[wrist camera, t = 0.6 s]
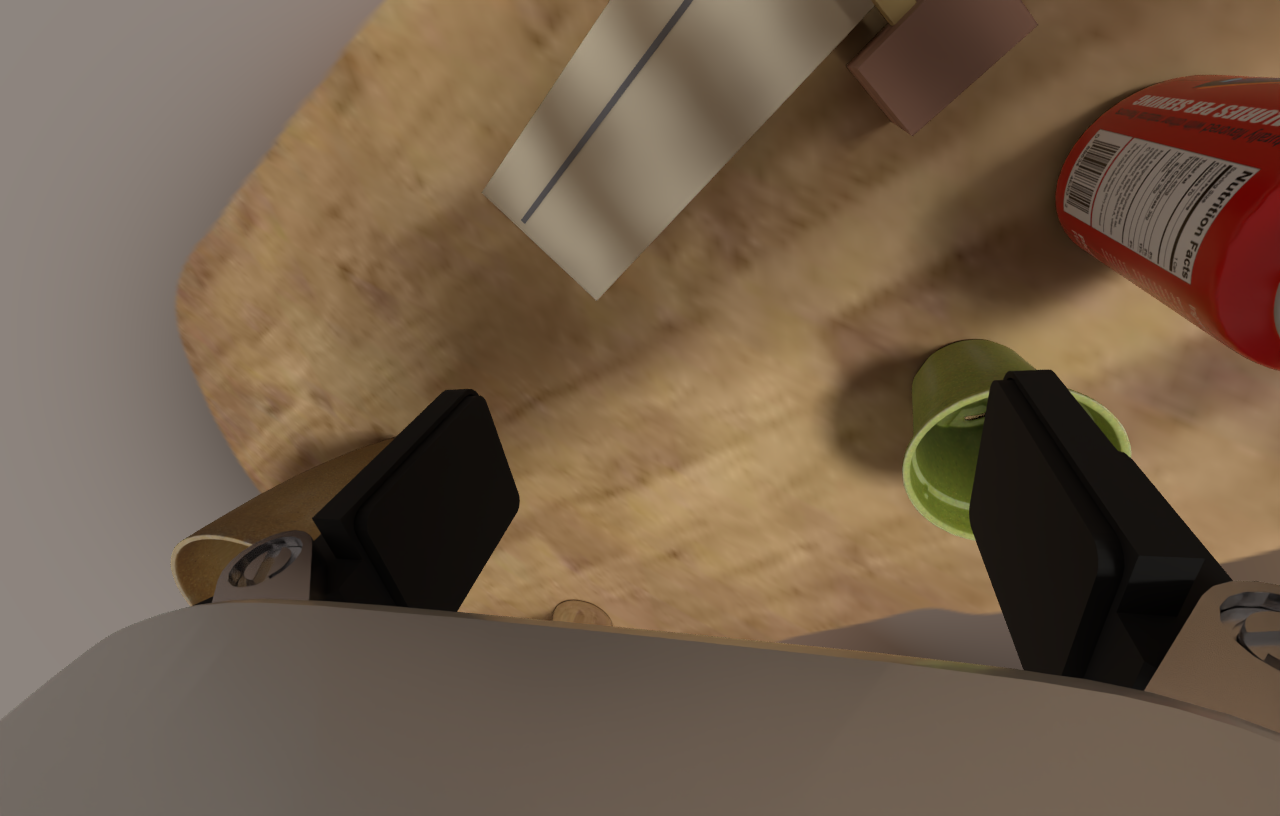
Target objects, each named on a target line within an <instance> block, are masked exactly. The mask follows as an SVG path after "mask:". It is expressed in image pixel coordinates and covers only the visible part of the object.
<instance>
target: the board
mask: <svg viewBox="0 0 1280 816" xmlns="http://www.w3.org/2000/svg"><path fill="white" fill-rule="evenodd" d="M874 6H875V5H874V4H873V2H872V1H871V0H610V1H609V3H608V4H607V6H606V7H605V9H604V10H603V12H602V13H601V15H600V16H599V18H598V19H597V21H596V22H595V24H594V25H593V27H592V28H591V30H590V31H589V33H588V34H587V36H586V37H585V39H584V40H583V42H582V43H581V45H580V46H579V48H578V49H577V51H576V52H575V54H574V55H573V57H572V58H571V60H570V61H569V63H568V64H567V66H566V67H565V69H564V70H563V72H562V73H561V75H560V76H559V78H558V79H557V81H556V82H555V84H554V85H553V87H552V88H551V90H550V91H549V93H548V94H547V96H546V97H545V99H544V100H543V102H542V103H541V105H540V106H539V108H538V109H537V111H536V112H535V114H534V115H533V117H532V118H531V120H530V121H529V123H528V124H527V126H526V127H525V129H524V130H523V132H522V133H521V135H520V136H519V138H518V139H517V141H516V142H515V144H514V145H513V147H512V148H511V150H510V151H509V153H508V154H507V156H506V157H505V159H504V160H503V162H502V163H501V165H500V166H499V168H498V169H497V171H496V172H495V174H494V175H493V177H492V178H491V180H490V181H489V183H488V184H487V186H486V187H485V189H484V190H483V192H482V194H484V195H485V196H486V197H487V198H488V199H489V200H490V201H491V202H492V203H493V204H494V205H495V206H496V207H497V208H498V209H499V210H501V211H502V212H503V213H504V214H505V215H506V216H507V217H508V218H509V219H510V220H511V221H512V222H513V223H514V224H515V225H517V226H518V227H519V228H520V229H521V230H522V231H523V232H524V233H525V234H526V235H527V236H528V237H529V238H530V239H531V240H532V241H534V242H535V243H536V244H537V245H538V246H539V247H540V248H541V249H542V250H543V251H544V252H545V253H546V254H547V255H548V256H550V257H551V258H552V259H553V260H554V261H555V262H556V263H557V264H558V265H559V266H560V267H561V268H562V269H563V270H564V271H565V272H567V273H568V274H569V275H570V276H571V277H572V278H573V279H574V280H575V281H576V282H577V283H578V284H579V285H580V286H581V287H582V288H584V289H585V290H586V291H587V292H588V293H589V294H590V295H591V296H592V297H593V298H594V299H595V300H596V301H597V300H598V299H599V298H600V297H601V296H602V295H603V294H604V292H605V291H606V290H607V289H608V288H609V287H610V286H611V285H612V284H613V283H614V282H615V281H616V280H617V279H618V278H619V277H620V276H621V274H622V273H623V272H624V271H625V270H626V269H627V268H628V267H629V266H630V265H631V264H632V263H633V262H634V261H635V260H636V259H637V257H638V256H639V255H640V254H641V253H642V252H643V251H644V250H645V249H646V248H647V247H648V246H649V245H650V244H651V243H652V242H653V240H654V239H655V238H656V237H657V236H658V235H659V234H660V233H661V232H662V231H663V230H664V229H665V228H666V227H667V226H668V225H669V223H670V222H671V221H672V220H673V219H674V218H675V217H676V216H677V215H678V214H679V213H680V212H681V211H682V210H683V209H684V208H685V206H686V205H687V204H688V203H689V202H690V201H691V200H692V199H693V198H694V197H695V196H696V195H697V194H698V193H699V192H700V191H701V190H702V188H703V187H704V186H705V185H706V184H707V183H708V182H709V181H710V180H711V179H712V178H713V177H714V176H715V175H716V174H717V173H718V171H719V170H720V169H721V168H722V167H723V166H724V165H725V164H726V163H727V162H728V161H729V160H730V159H731V158H732V157H733V156H734V154H735V153H736V152H737V151H738V150H739V149H740V148H741V147H742V146H743V145H744V144H745V143H746V142H747V141H748V140H749V139H750V137H751V136H752V135H753V134H754V133H755V132H756V131H757V130H758V129H759V128H760V127H761V126H762V125H763V124H764V123H765V122H766V120H767V119H768V118H769V117H770V116H771V115H772V114H773V113H774V112H775V111H776V110H777V109H778V108H779V107H780V106H781V105H782V104H783V102H784V101H785V100H786V99H787V98H788V97H789V96H790V95H791V94H792V93H793V92H794V91H795V90H796V89H797V88H798V87H799V85H800V84H801V83H802V82H803V81H804V80H805V79H806V78H807V77H808V76H809V75H810V74H811V73H812V72H813V71H814V70H815V68H816V67H817V66H818V65H819V64H820V63H821V62H822V61H823V60H824V59H825V58H826V57H827V56H828V55H829V54H830V53H831V51H832V50H833V49H834V48H835V47H836V46H837V45H838V44H839V43H840V42H841V41H842V40H843V39H844V38H845V37H846V36H847V34H848V33H849V32H850V31H851V30H852V29H853V28H854V27H855V26H856V25H857V24H858V23H859V22H860V21H861V20H862V19H863V18H864V16H865V15H866V14H867V13H868V12H869V11H870V10H871V9H872V8H873V7H874Z"/></svg>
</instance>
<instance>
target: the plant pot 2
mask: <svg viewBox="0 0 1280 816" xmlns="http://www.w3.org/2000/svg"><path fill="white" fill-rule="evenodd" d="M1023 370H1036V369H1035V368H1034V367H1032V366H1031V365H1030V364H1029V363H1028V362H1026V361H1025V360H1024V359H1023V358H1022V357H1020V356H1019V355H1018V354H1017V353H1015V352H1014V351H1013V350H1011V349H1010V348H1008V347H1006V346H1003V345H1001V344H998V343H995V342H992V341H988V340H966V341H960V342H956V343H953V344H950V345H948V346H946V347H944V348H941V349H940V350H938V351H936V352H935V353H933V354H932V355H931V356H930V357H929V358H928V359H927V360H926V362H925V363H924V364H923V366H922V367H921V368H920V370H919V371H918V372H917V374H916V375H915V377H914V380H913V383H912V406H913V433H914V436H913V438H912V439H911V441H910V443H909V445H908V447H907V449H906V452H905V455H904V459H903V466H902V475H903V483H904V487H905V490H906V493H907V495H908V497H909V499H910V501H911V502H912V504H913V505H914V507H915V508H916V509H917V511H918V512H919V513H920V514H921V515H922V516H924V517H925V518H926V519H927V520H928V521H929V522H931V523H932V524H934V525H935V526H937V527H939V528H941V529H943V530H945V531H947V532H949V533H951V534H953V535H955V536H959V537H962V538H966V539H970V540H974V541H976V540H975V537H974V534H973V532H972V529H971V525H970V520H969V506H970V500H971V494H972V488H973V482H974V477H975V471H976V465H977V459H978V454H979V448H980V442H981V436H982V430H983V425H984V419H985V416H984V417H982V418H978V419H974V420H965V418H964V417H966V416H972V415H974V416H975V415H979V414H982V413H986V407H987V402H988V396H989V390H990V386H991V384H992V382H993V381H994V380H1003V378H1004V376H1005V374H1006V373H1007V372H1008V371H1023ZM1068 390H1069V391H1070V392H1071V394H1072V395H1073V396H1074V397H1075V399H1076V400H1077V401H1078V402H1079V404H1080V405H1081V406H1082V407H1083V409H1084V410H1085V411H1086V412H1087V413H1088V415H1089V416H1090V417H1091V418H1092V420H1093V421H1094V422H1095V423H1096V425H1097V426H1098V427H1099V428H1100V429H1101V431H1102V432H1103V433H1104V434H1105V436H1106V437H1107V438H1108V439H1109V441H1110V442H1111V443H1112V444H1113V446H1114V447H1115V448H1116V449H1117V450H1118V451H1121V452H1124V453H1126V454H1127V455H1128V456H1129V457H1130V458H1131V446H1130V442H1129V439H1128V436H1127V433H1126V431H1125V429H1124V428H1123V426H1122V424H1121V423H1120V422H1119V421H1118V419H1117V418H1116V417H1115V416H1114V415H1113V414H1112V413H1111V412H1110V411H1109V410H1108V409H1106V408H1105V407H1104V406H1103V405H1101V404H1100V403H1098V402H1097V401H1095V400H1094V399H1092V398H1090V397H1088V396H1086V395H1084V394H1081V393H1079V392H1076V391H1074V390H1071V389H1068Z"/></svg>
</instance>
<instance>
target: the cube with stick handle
mask: <svg viewBox="0 0 1280 816" xmlns="http://www.w3.org/2000/svg"><path fill="white" fill-rule="evenodd" d="M871 1H872V2H873V4H874V5H875V6H876V7H877V9H878V10H879V11H880V13H881V14H882V15H883V16H884V18H885V19H886V20H887V22H888V23H887V24H886V25H885V26H884V27H883V28H882V29H881V30H880V32H879V33H878V34H877V35H876V36H875V37H874V38H873V39H872V40H871V41H870V42H869V43H868V44H867V45H866V46H865V47H864V48H863V49H862V50H861V51H860V52H859V53H858V54H857V55H856V56H855V57H854V58H853V59H852V60H851V61H850V62H849V63H848V64H847V65H846V67H847V68H848V69H849V70H850V72H851V73H852V74H853V75H854V77H855V78H856V79H857V80H858V81H859V83H860V84H861V85H862V86H863V88H864V89H865V90H866V91H867V93H868V94H869V95H870V96H871V97H872V99H873V100H874V101H875V102H876V104H877V105H878V106H879V107H880V108H881V110H882V111H883V112H884V113H885V115H886V116H887V117H888V118H889V119H890V121H891V122H893V123H894V124H896V125H897V126H898V127H900V128H901V129H903V130H904V131H906V132H907V133H909V134H910V135H912V136H913V135H914V134H915V133H917V132H918V131H919V130H920V129H921V128H922V127H923V126H925V125H926V124H927V123H928V122H929V121H930V120H931V119H932V118H934V117H935V116H936V115H937V114H938V113H939V112H940V111H941V110H943V109H944V108H945V107H946V106H947V105H948V104H949V103H951V102H952V101H953V100H954V99H955V98H956V97H957V96H958V95H960V94H961V93H962V92H963V91H964V90H965V89H966V88H968V87H969V86H970V85H971V84H972V83H973V82H974V81H975V80H977V79H978V78H979V77H980V76H981V75H982V74H983V73H984V72H986V71H987V70H988V69H989V68H990V67H991V66H992V65H994V64H995V63H996V62H997V61H998V60H999V59H1000V58H1001V57H1003V56H1004V55H1005V54H1006V53H1007V52H1008V51H1009V50H1011V49H1012V48H1013V47H1014V46H1015V45H1016V44H1017V43H1018V42H1020V41H1021V40H1022V39H1023V38H1024V37H1025V36H1026V35H1027V34H1029V33H1030V32H1031V31H1032V30H1033V29H1034V28H1035V27H1037V26H1038V24H1037V22H1036V21H1035V19H1034V18H1033V16H1032V15H1031V14H1030V12H1029V11H1028V9H1027V8H1026V7H1025V5H1024V4H1023V2H1022V1H1021V0H871Z"/></svg>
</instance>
